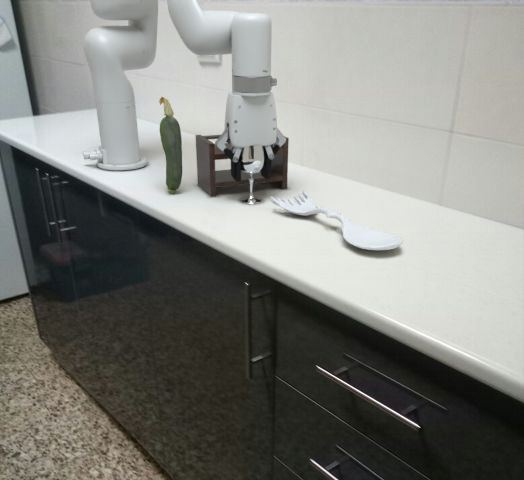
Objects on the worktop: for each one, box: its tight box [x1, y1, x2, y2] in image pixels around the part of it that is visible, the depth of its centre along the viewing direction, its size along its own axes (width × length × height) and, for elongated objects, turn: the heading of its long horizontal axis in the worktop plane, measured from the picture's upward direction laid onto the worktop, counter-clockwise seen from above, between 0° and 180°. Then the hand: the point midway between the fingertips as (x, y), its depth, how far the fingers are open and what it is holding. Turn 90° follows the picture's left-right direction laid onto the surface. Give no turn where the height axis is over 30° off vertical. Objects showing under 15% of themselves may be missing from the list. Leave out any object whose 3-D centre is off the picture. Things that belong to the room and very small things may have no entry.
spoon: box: [269, 190, 404, 251], centre depth 109 cm, size 9×32×4 cm, turn 32°
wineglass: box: [239, 145, 265, 205], centre depth 122 cm, size 6×6×12 cm
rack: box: [194, 134, 290, 198], centre depth 132 cm, size 18×10×11 cm, turn 112°
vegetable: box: [158, 96, 183, 194], centre depth 124 cm, size 4×4×20 cm
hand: (251, 177), depth 123 cm, fingers closed on wineglass, 5 cm apart
